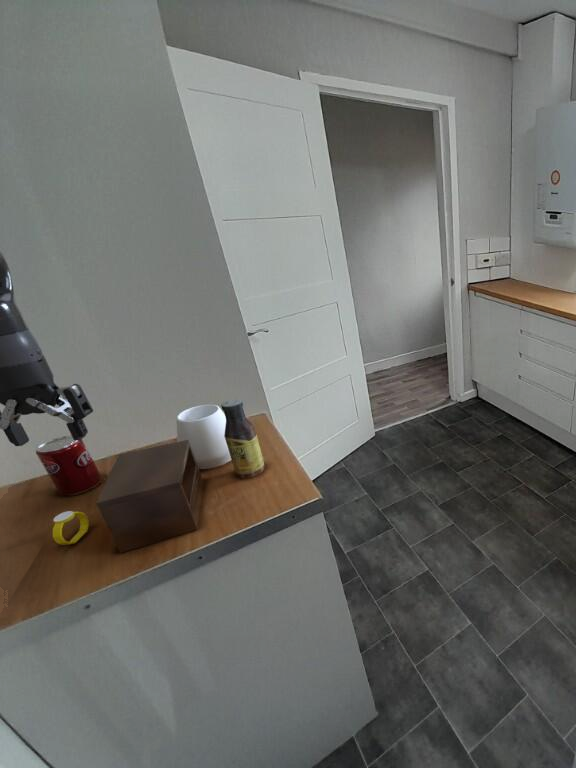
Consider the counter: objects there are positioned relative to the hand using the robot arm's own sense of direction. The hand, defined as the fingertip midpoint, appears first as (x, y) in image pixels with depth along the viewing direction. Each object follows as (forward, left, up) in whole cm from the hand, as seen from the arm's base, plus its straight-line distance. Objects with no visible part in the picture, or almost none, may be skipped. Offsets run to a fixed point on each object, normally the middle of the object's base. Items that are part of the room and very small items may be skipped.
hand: (52, 441), depth 75 cm
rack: (+11, -2, -21) cm, 24 cm away
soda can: (-7, +19, -21) cm, 29 cm away
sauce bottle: (+27, +6, -21) cm, 35 cm away
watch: (-3, -2, -21) cm, 21 cm away
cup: (+19, +17, -21) cm, 33 cm away
